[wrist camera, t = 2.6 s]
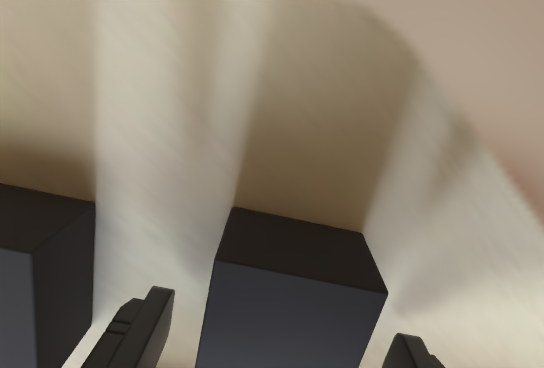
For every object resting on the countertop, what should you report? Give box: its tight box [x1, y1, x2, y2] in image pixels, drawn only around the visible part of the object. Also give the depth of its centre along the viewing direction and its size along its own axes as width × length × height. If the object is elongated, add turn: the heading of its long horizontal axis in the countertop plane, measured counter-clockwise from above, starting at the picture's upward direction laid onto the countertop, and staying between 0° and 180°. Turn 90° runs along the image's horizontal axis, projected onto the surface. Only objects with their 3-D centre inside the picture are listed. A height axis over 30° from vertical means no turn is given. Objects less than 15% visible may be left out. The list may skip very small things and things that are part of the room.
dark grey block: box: [195, 207, 388, 368], centre depth 12 cm, size 6×5×4 cm
